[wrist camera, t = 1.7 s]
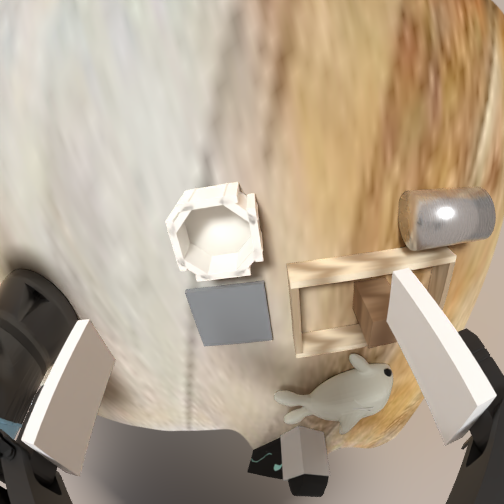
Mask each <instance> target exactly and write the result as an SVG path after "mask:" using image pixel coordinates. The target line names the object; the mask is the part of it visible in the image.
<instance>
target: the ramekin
mask: <svg viewBox="0 0 504 504" xmlns="http://www.w3.org/2000/svg"><path fill="white" fill-rule="evenodd" d="M239 190H240V188H239V182H233V183H226V184H220V185H211V186H207V187H202V188H195V189H191V190H186V191H185V192H184V193H183V195H182V196H181V198H180V199H179V201H178V202H177V204H176V206H175V207H174V209H173V210H172V212H171V214H170V215H169V217H168V218H167V220H166V221H165V222H166V226H167V229H168V232H167V233H168V234H169V236H170V240H171V243H172V246H173V250H174V253H175V256H176V260H177V261H176V262H177V263H178V266H179V269H180V272H181V271H187V270H190V271H192V272H193V273H195V274H196V275H195V276H196V279H197V282H198V281H209V280H216V279H224V278H232V277H239V278H240V277H241V276H249V275H251V264H252V263H253V262H254V261H256V262H260V261H263V241H262V231H260V224H259V215H258V203H256V198H255V193H251V194H247V195H245V194H244V193H243V192H241V191H239Z"/></svg>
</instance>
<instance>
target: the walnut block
mask: <svg viewBox="0 0 504 504" xmlns="http://www.w3.org/2000/svg"><path fill="white" fill-rule="evenodd" d="M390 292H391V286H390V284H389V282H388V281H387V279H386V278H385V277H382V278H376V279H370V280H364V281H358V282H354V297H353V310H354V312H355V315H356V317H357V320H358V322H359V325H360V327H361V330H362V332H363V335H364V337H365V340H366V343H367V345H368V348H372V347H376V346H381V345H386V344H390V343H394V342H397V340H396V338H395V336H394V334H393V332H392V330H391V329H390V327H389V325H388V323H387V315H388V308H389V300H390Z"/></svg>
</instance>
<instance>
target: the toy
mask: <svg viewBox="0 0 504 504" xmlns="http://www.w3.org/2000/svg"><path fill="white" fill-rule="evenodd" d="M349 360H350V363H351V364H352V366H353V367H355V369H352V370H349V371H346V372H343V373H340V374H338V375H335V376H333V377H331V378H330V379H328V380H326V381H325V382H323V383H322V384H320V385H319V386H318V387H317V388H316V389H315V390H314V391H313V392H312V393H311V394H309V395H298V394H296V393H293V392H291V391H287V390H281V391H277V392H275V393H274V399H275V400H276V401H277V402H278V403H280V404H282V405H285V406H303V407H302V408H299V409H295V410H293V411H291V412H289V413H288V414H286V415H285V417H284V422H285V423H286V424H296V423H299V422H300V421H301V420H302V419H303V418H304V417H306V416H310V415H314V416H316V417H319V418H321V419H325V420H330V421H339V422H340V429H339V433H340V434H341V435H342V434H345V433H347V432H348V431H349V430H351V429H352V428H353V427H354V426H355V425H356V423H357V422H358V421H359V420H360V419H361V418H364V417H368V416H371V415H373V414H375V413H377V412H379V411H380V410H381V409H383V407H384V406H385V405H386V403H387V401H388V399H389V396H390V393H391V389H392V385H393V373H392V370H391V368H390V366H389V365H388V364H382V363H374V364H368V362H367V361H366V360H365V359H364V358H363V357H362V356H360V355H358V354H355V353H354V354H350V355H349Z"/></svg>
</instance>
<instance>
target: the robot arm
mask: <svg viewBox="0 0 504 504" xmlns="http://www.w3.org/2000/svg"><path fill="white" fill-rule="evenodd" d="M387 323H388V325H389V327H390V329H391V330H392V332H393V334H394V336H395V338H396V340H397V342H398V344H399V346H400V348H401V350H402V352H403V354H404V356H405V358H406V360H407V362H408V364H409V366H410V368H411V370H412V372H413V374H414V376H415V378H416V380H417V382H418V384H419V387H420V389H421V391H422V393H423V395H424V397H425V400H426V402H427V404H428V406H429V409H430V411H431V413H432V415H433V418H434V420H435V423H436V425H437V427H438V430H439V432H440V434H441V437H442V440H443V442H444V445H445V446H446V445H448V444H449V443H452V442H454V441H456V440H458V439H460V438H462V437H463V436H464V435H465V434H466V433H467V432H468V430H470V432H471V434H472V436H471V437H470V438H469V439H468V440H467V441H466V442H465V443H464V444H463V446H462V448H461V449H464V448H465V447H467V446H468V447H467V450H466V453H465V456H464V459H463V462H462V465H461V468H460V471H459V473H458V476H457V479H456V481H455V483H454V486H453V488H452V491H451V493H450V495H449V498H448V500H447V502H446V504H504V375H503V374H502V373H501V371H500V369H499V368H498V366H497V364H496V363H495V361H494V360H493V358H492V357H490V354H489V352H488V351H487V349H485V348H484V345H483V344H482V342H481V341H480V339H479V338H478V337H477V336H476V335H475V334H474V333H472V332H471V331H469V330H468V329H464V330H461V331H459V332H457V331H456V329H455V328H454V327H453V325H452V324H451V322H450V321H449V320H448V318H447V317H446V315H445V314H444V313H443V311H442V310H441V309H440V307H439V306H438V304H437V303H436V302H435V300H434V299H433V298H432V297H431V295H430V294H429V293H428V291H427V290H426V289H425V287H424V286H423V285H422V284H421V282H420V281H419V280H418V279H417V277H416V276H415V275H414V274H413V272H412V271H411V270H410V269H409V268H405V269H401V270H396V271H393V274H392V284H391V292H390V300H389V308H388V315H387ZM115 361H116V359H115V358H114V356H113V355H112V353H111V352H110V351H109V349H108V347H107V346H106V344H105V343H104V341H103V340H102V338H101V337H100V335H99V334H98V332H97V330H96V329H95V327H94V325H93V324H92V322H91V320H90V319H87V320H78V319H77V317H76V314H75V312H74V310H73V308H72V307H71V305H70V304H69V302H68V301H67V299H66V298H65V297H64V296H63V294H62V293H61V292H60V291H59V290H58V289H57V288H56V287H55V286H54V285H53V284H52V283H51V282H49V281H48V280H47V279H45V278H44V277H42V276H41V275H39V274H37V273H35V272H33V271H30V270H26V269H17V270H14V271H13V272H11V273H10V274H9V275H8V276H7V277H6V278H5V280H4V281H3V282H2V284H1V286H0V481H2V482H3V483H5V484H6V487H7V490H6V489H4V488H3V487H1V486H0V504H72V501H71V499H70V497H69V495H68V492H67V490H66V487H65V485H64V482H63V480H62V477H61V475H60V474H59V472H57V471H56V470H57V467H59V468H60V469H62V470H63V471H65V472H66V473H69V474H73V475H76V476H80V474H81V470H82V466H83V462H84V459H85V455H86V450H87V448H88V444H89V440H90V437H91V433H92V430H93V427H94V423H95V420H96V417H97V414H98V410H99V407H100V404H101V401H102V398H103V395H104V392H105V389H106V386H107V383H108V380H109V377H110V375H111V372H112V369H113V366H114V363H115ZM53 364H54V365H53ZM52 365H53V367H52V369H51V371H50V374H49V376H48V378H47V380H46V382H45V384H44V385H43V386H42V387H41V388H40V389H39V391H38V392H37V389H38V387H39V386H40V383H41V381H42V379H43V377H44V375H45V374H46V372H47V370H48V369H49V368H50V367H51V366H52ZM36 392H37V393H36ZM35 394H36V395H35ZM34 396H35V397H34ZM33 398H34V399H33ZM32 400H33V401H32ZM31 403H32V405H31ZM30 405H31V406H30ZM29 407H30V408H29ZM28 409H29V412H28V413H27V411H28ZM26 414H27V415H26ZM25 416H26V418H25ZM24 419H25V420H24ZM23 421H24V422H23ZM22 423H23V425H22ZM19 428H21V430H20V433H19V435H18V438H17V440H16V441H15V440H14V438H15V436H16V434H17V432H18V430H19Z"/></svg>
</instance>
